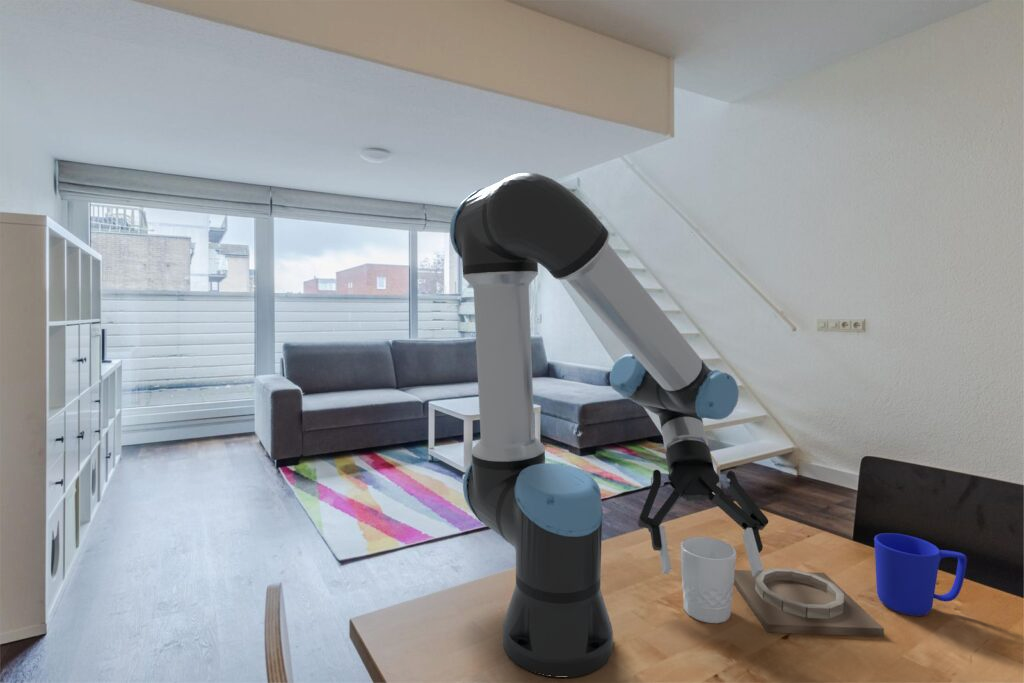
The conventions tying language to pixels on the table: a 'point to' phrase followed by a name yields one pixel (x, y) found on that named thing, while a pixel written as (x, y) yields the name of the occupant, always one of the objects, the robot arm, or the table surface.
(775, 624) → the brown flat ringed piece
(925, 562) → the mug
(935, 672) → the table surface
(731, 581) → the white cup
